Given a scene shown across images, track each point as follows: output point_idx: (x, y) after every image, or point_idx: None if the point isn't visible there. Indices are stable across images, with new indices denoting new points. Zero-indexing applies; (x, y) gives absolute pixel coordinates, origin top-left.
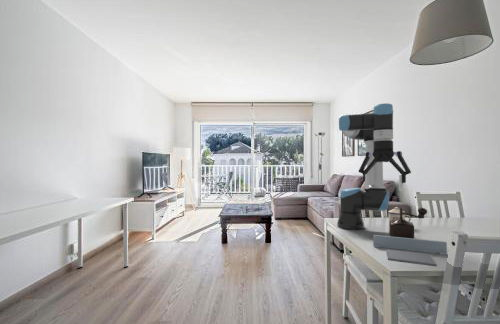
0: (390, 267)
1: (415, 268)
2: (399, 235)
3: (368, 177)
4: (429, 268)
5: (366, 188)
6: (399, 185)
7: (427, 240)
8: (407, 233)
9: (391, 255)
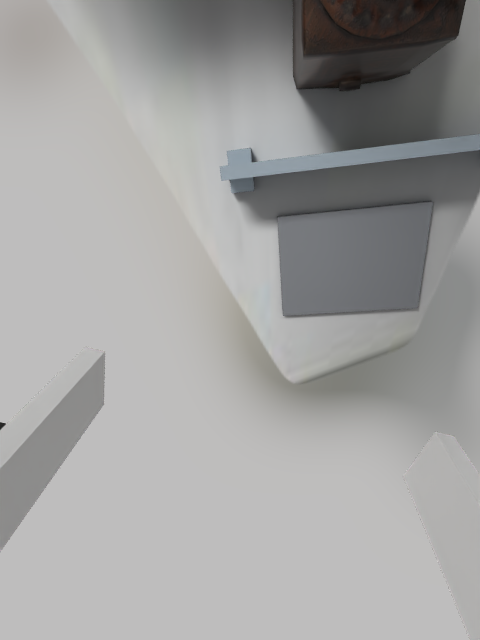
0: (287, 367)
1: (350, 349)
2: (347, 70)
3: (4, 487)
4: (388, 334)
5: (96, 408)
6: (429, 534)
7: (468, 147)
8: (395, 61)
9: (293, 285)
